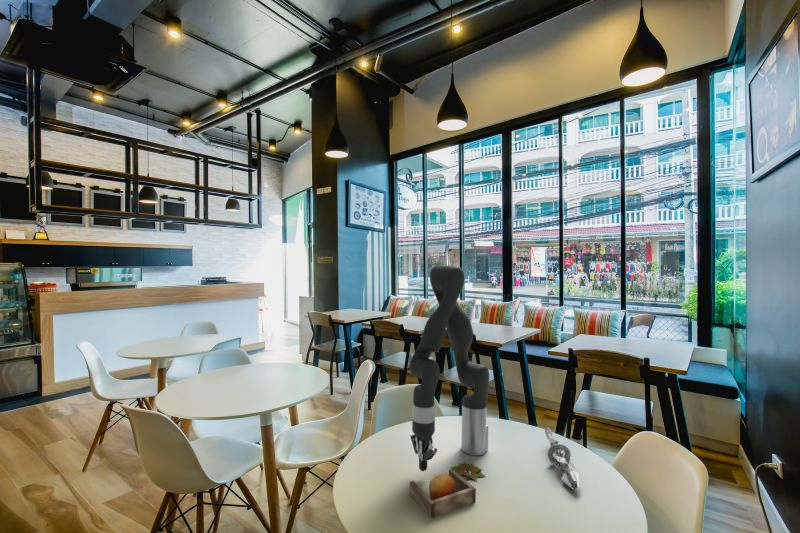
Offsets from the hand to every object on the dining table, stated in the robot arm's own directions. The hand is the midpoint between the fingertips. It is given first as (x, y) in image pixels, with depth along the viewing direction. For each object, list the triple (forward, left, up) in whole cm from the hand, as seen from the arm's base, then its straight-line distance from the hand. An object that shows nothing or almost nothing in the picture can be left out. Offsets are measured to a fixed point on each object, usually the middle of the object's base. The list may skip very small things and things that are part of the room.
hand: (422, 469), depth 123 cm
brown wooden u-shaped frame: (0, +12, -3) cm, 12 cm away
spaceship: (-48, +15, -3) cm, 50 cm away
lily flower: (-16, +4, -4) cm, 17 cm away
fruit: (0, +12, -3) cm, 12 cm away
